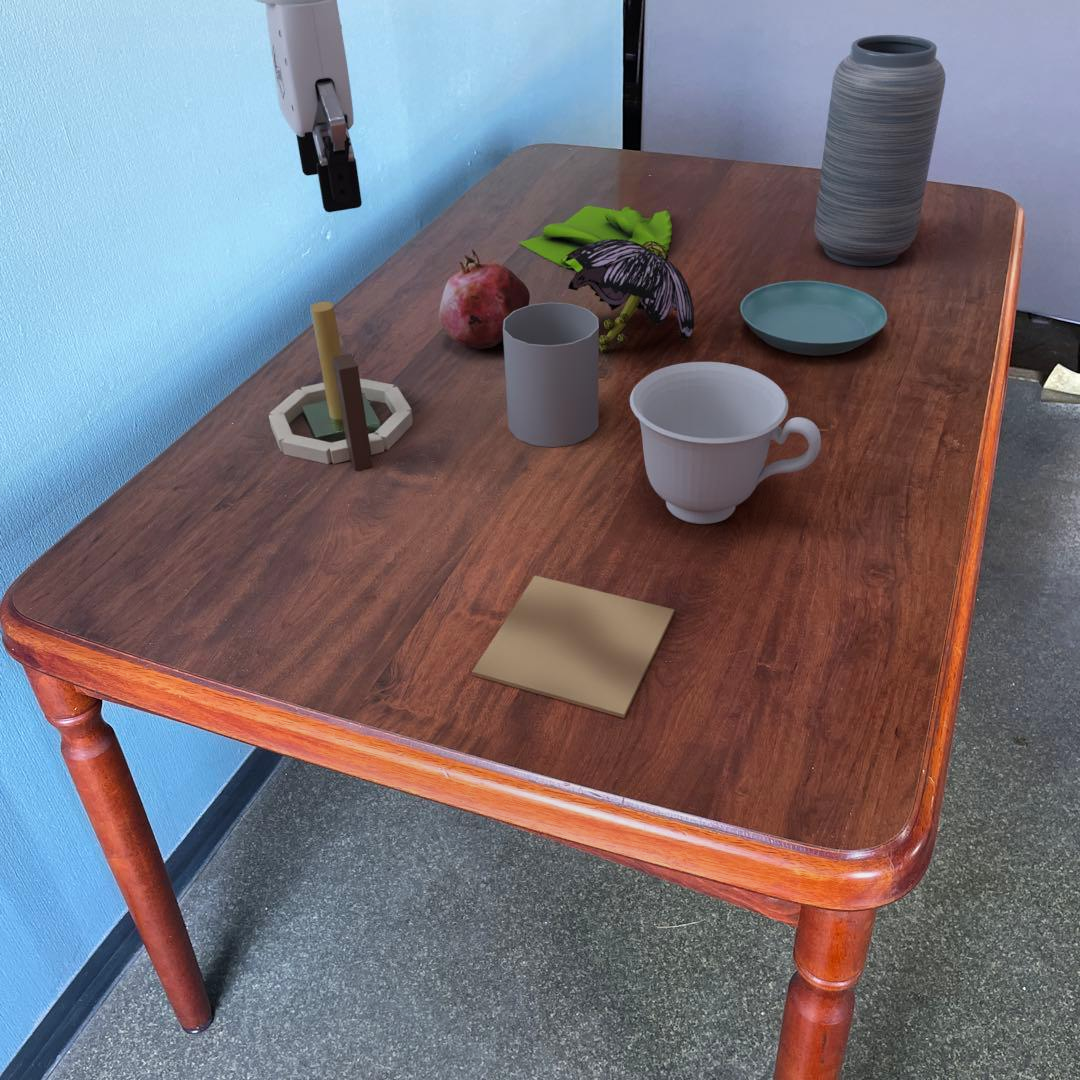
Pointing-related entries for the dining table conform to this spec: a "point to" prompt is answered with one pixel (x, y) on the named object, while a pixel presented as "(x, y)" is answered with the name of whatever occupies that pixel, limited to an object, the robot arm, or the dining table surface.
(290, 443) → the ring
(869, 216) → the vase
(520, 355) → the cup
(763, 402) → the teacup
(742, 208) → the dining table surface
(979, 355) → the dining table surface
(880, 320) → the saucer
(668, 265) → the decorative flower
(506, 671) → the cork pad
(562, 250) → the cloth
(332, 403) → the stand
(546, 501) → the dining table surface
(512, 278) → the fruit
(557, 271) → the dining table surface
